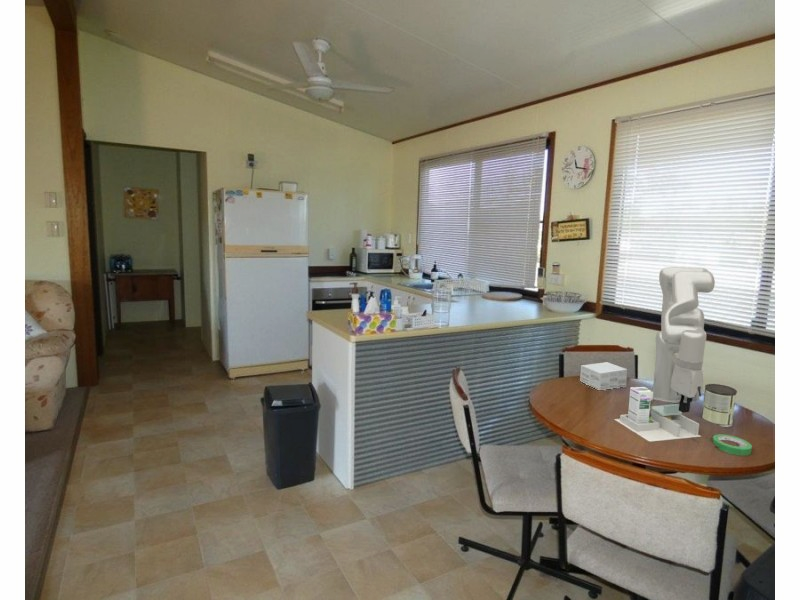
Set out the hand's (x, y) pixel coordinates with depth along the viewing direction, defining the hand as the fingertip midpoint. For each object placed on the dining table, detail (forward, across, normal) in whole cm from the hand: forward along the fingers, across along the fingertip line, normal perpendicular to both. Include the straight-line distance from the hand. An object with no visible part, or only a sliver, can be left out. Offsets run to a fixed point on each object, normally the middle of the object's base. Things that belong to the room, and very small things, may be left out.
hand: (683, 411), depth 165 cm
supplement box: (+11, -53, +5) cm, 55 cm away
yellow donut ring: (+8, -8, -1) cm, 11 cm away
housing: (+9, -5, -7) cm, 12 cm away
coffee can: (+10, -7, +23) cm, 26 cm away
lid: (+4, -8, -1) cm, 9 cm away
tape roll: (+10, +12, +9) cm, 18 cm away
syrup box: (+8, -8, -12) cm, 17 cm away
